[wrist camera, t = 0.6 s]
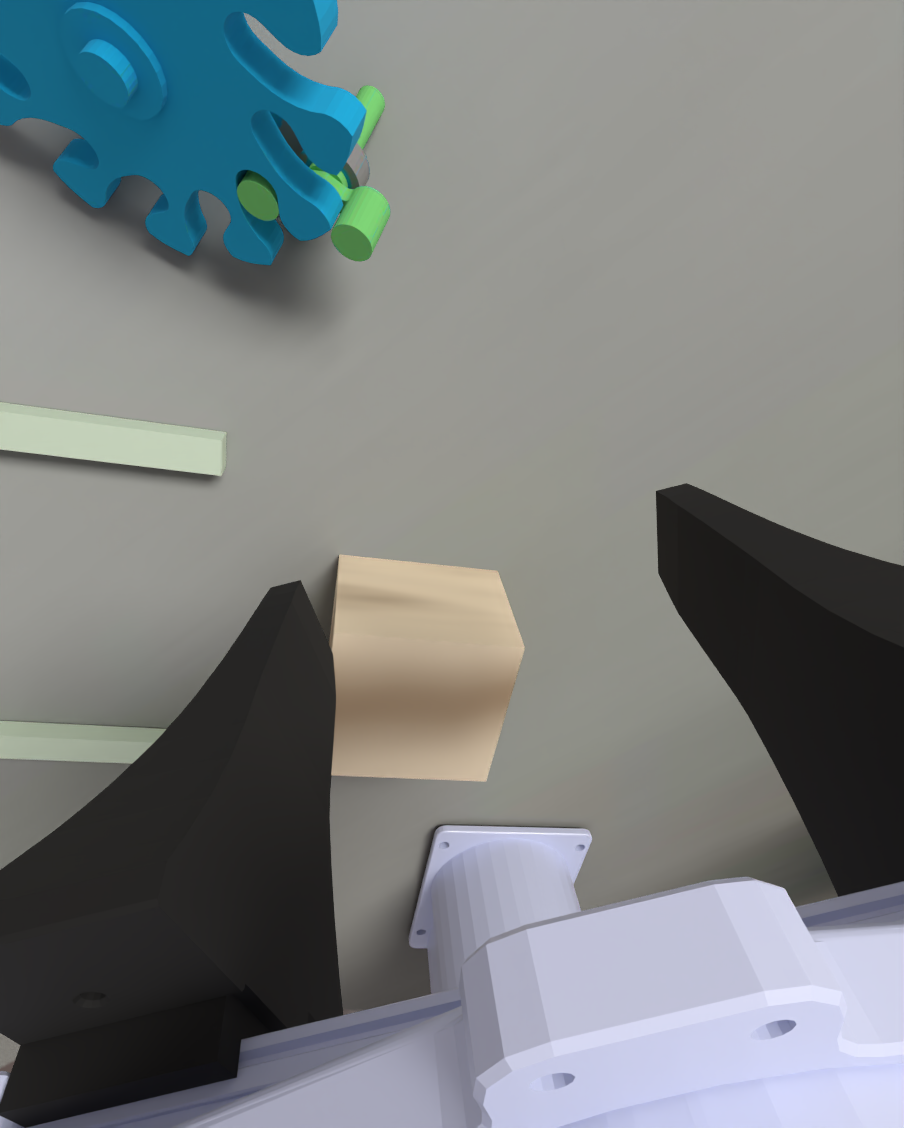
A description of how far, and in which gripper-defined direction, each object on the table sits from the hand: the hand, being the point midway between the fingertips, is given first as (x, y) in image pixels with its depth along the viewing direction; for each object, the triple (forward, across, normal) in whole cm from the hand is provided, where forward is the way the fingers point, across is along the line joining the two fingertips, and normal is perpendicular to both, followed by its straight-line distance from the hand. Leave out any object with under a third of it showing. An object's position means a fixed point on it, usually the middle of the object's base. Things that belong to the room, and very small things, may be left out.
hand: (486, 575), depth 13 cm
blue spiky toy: (+11, +4, -9) cm, 15 cm away
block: (+10, +3, +9) cm, 13 cm away
